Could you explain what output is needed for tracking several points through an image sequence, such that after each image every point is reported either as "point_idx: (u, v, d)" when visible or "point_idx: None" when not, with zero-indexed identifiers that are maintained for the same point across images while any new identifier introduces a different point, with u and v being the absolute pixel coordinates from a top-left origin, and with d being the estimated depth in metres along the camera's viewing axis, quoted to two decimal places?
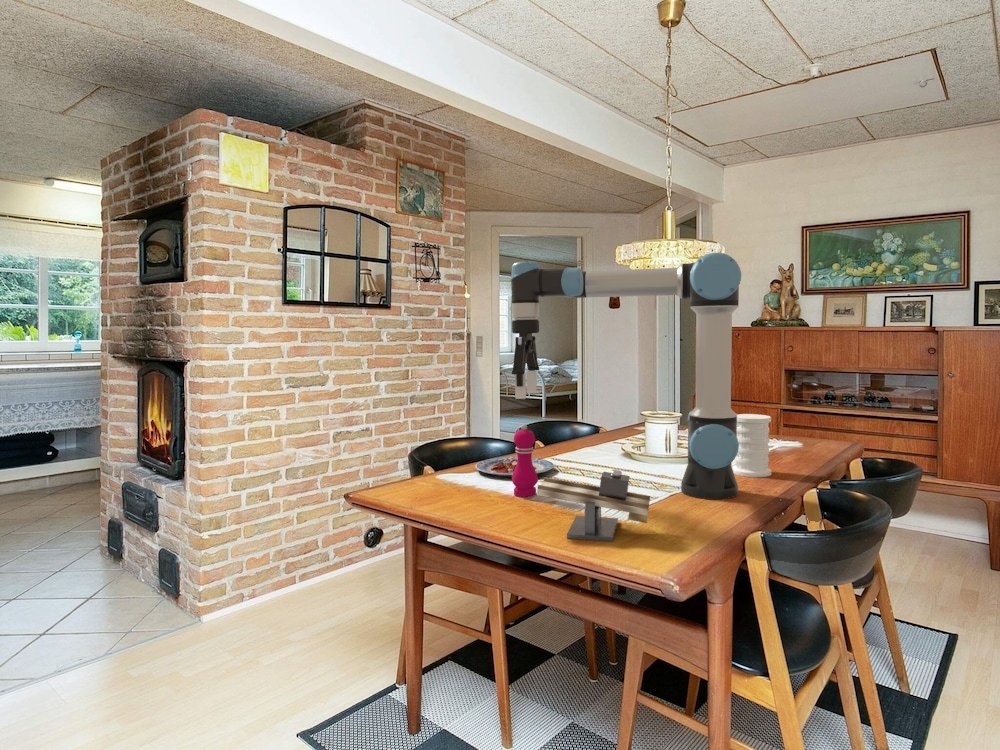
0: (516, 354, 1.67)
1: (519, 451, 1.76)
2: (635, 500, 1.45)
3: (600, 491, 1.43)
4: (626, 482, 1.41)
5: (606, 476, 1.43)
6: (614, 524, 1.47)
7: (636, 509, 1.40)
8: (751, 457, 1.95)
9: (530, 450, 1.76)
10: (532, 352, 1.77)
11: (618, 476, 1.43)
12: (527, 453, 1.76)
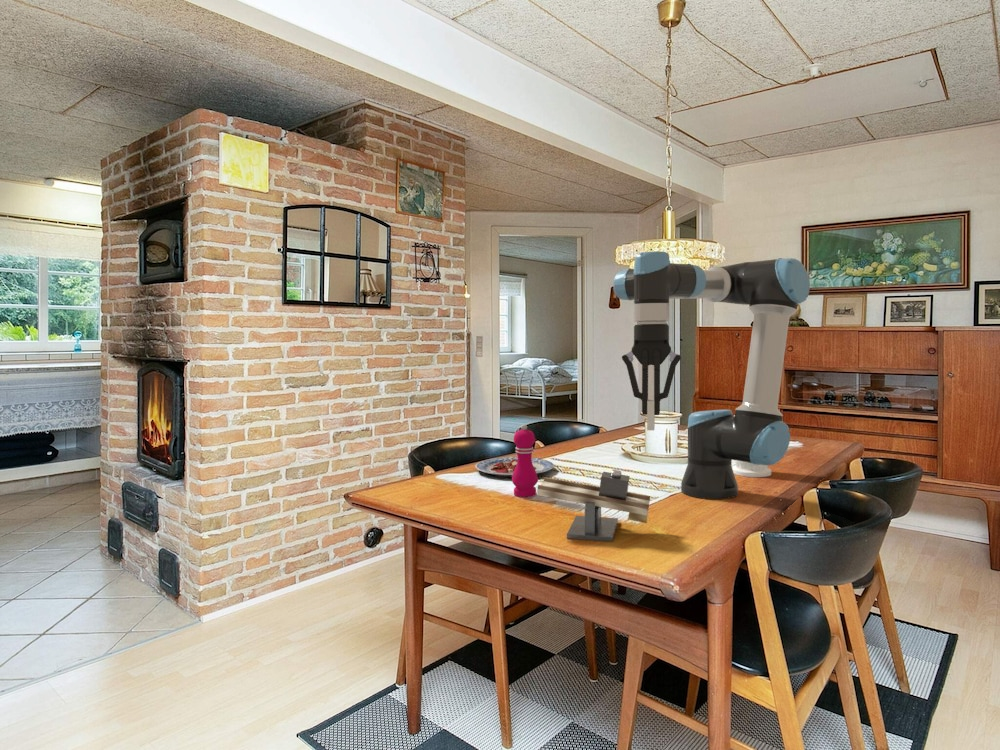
0: None
1: (519, 451, 1.76)
2: (635, 500, 1.45)
3: (600, 491, 1.43)
4: (626, 482, 1.41)
5: (606, 476, 1.43)
6: (614, 524, 1.47)
7: (636, 509, 1.40)
8: None
9: (530, 450, 1.76)
10: (654, 367, 1.39)
11: (618, 476, 1.43)
12: (527, 453, 1.76)
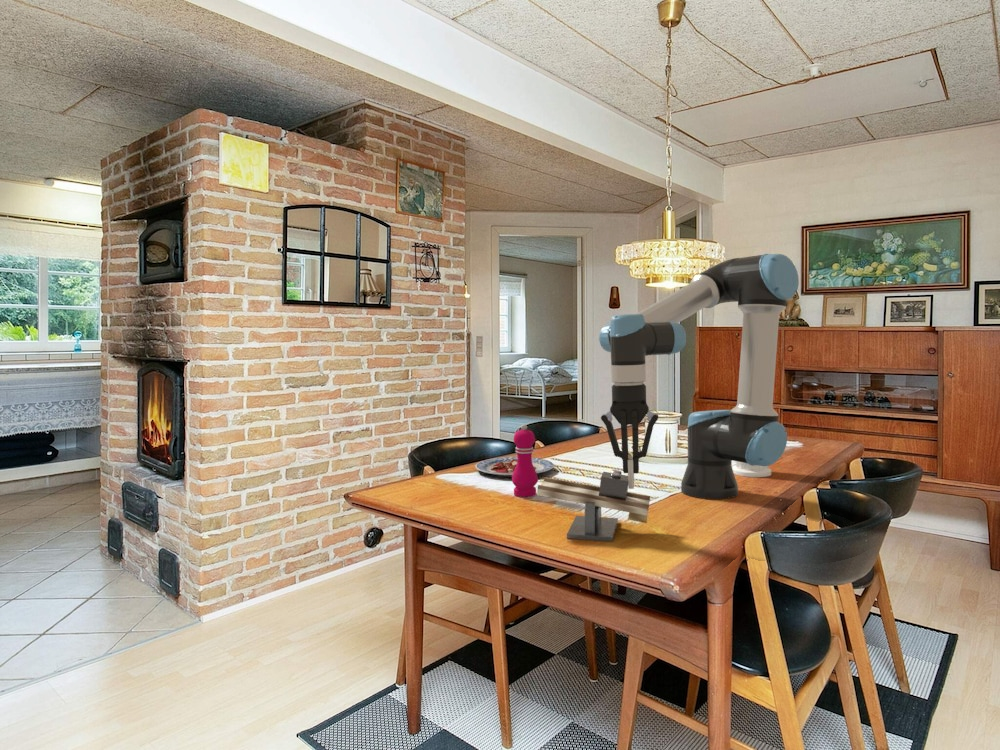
0: None
1: (519, 451, 1.76)
2: (635, 500, 1.45)
3: (600, 491, 1.43)
4: (626, 482, 1.41)
5: (606, 476, 1.43)
6: (614, 524, 1.47)
7: (636, 509, 1.40)
8: None
9: (530, 450, 1.76)
10: (632, 427, 1.41)
11: (618, 476, 1.43)
12: (527, 453, 1.76)
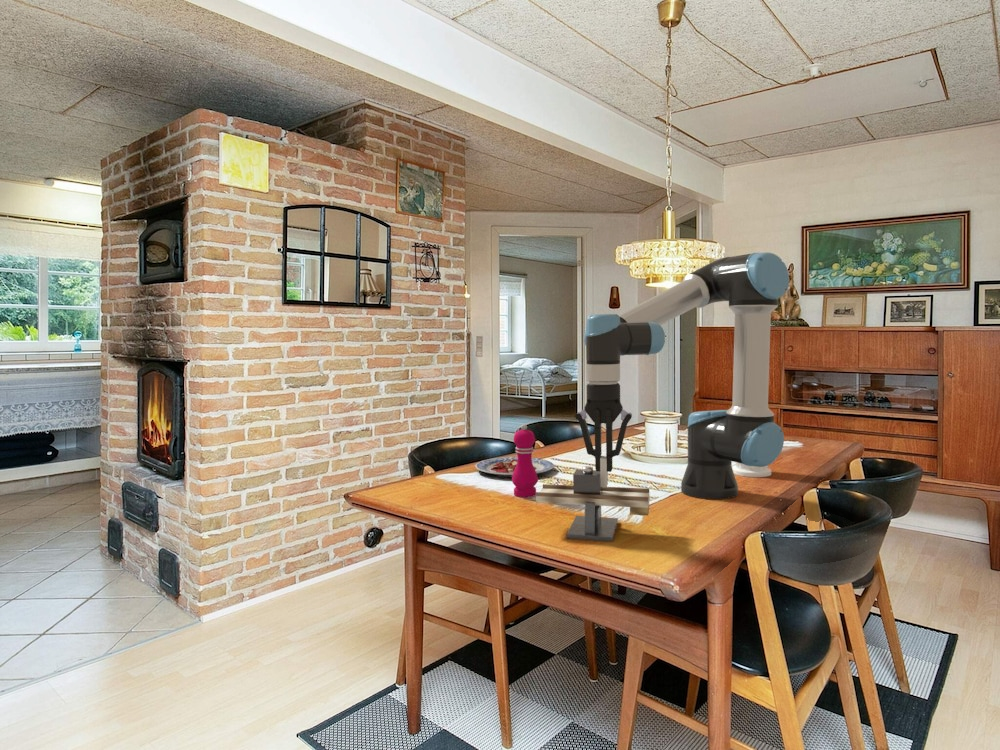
0: None
1: (519, 451, 1.76)
2: (634, 494, 1.44)
3: (574, 489, 1.44)
4: (598, 477, 1.43)
5: (578, 473, 1.45)
6: (614, 524, 1.47)
7: (636, 502, 1.40)
8: None
9: (530, 450, 1.76)
10: (606, 426, 1.43)
11: (590, 472, 1.45)
12: (527, 453, 1.76)
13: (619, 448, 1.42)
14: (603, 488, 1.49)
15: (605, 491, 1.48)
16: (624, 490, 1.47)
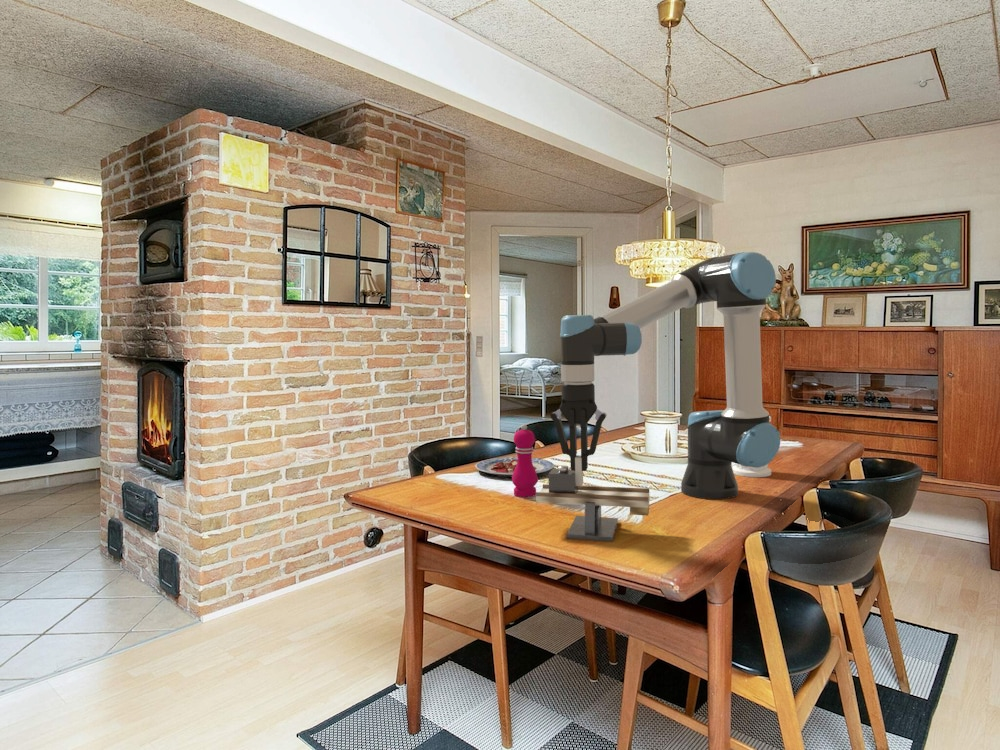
0: None
1: (519, 451, 1.76)
2: (634, 494, 1.44)
3: (549, 488, 1.46)
4: (573, 476, 1.44)
5: (553, 473, 1.46)
6: (614, 524, 1.47)
7: (636, 502, 1.40)
8: None
9: (530, 450, 1.76)
10: None
11: (565, 471, 1.46)
12: (527, 453, 1.76)
13: (593, 447, 1.44)
14: (603, 488, 1.49)
15: (605, 491, 1.48)
16: (624, 490, 1.47)
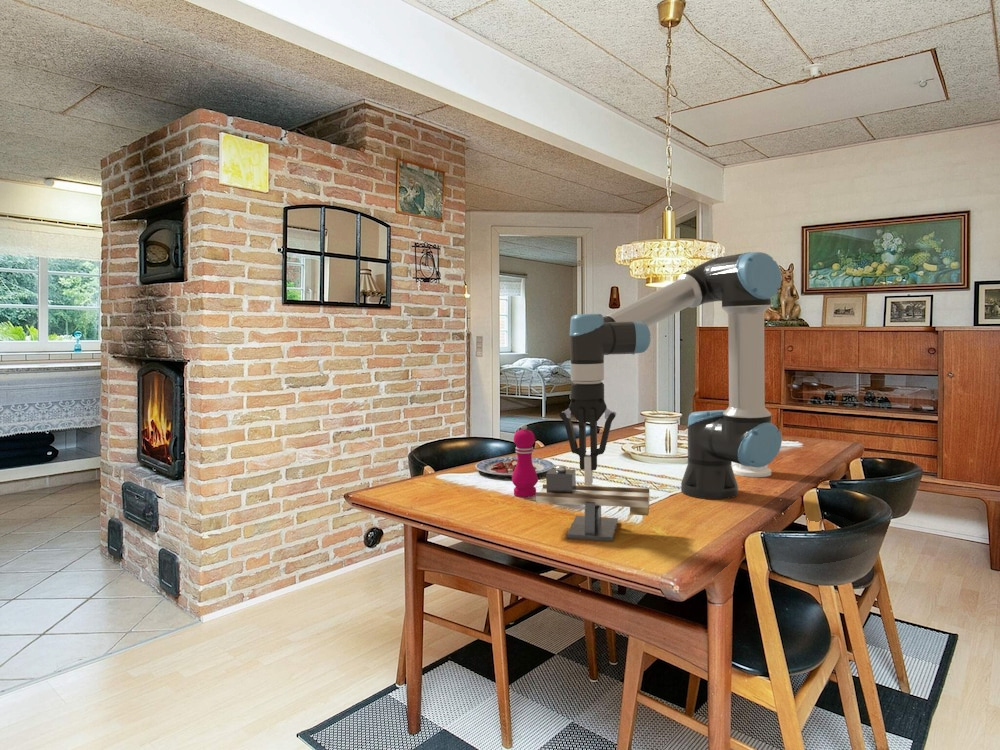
0: None
1: (519, 451, 1.76)
2: (634, 494, 1.44)
3: (547, 488, 1.46)
4: (570, 475, 1.44)
5: (551, 472, 1.46)
6: (614, 524, 1.47)
7: (636, 502, 1.40)
8: None
9: (530, 450, 1.76)
10: (590, 425, 1.44)
11: (563, 471, 1.46)
12: (527, 453, 1.76)
13: (603, 447, 1.43)
14: (603, 488, 1.49)
15: (605, 491, 1.48)
16: (624, 490, 1.47)
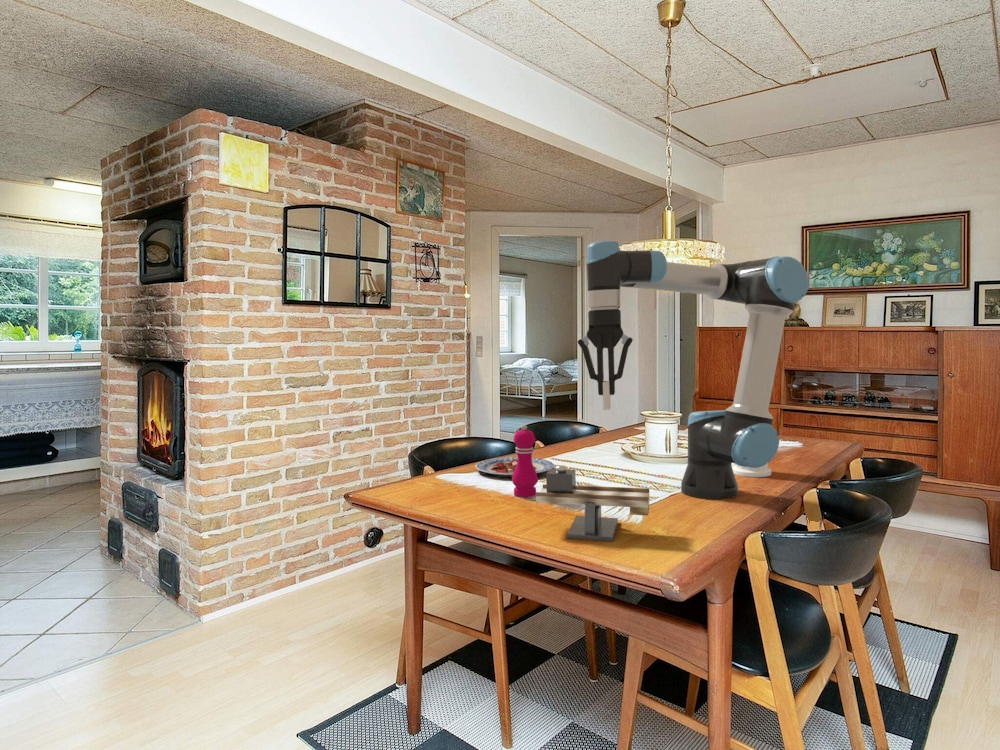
0: None
1: (519, 451, 1.76)
2: (634, 494, 1.44)
3: (547, 488, 1.46)
4: (570, 475, 1.44)
5: (551, 472, 1.46)
6: (614, 524, 1.47)
7: (636, 502, 1.40)
8: None
9: (530, 450, 1.76)
10: None
11: (563, 471, 1.46)
12: (527, 453, 1.76)
13: (621, 371, 1.48)
14: (603, 488, 1.49)
15: (605, 491, 1.48)
16: (624, 490, 1.47)
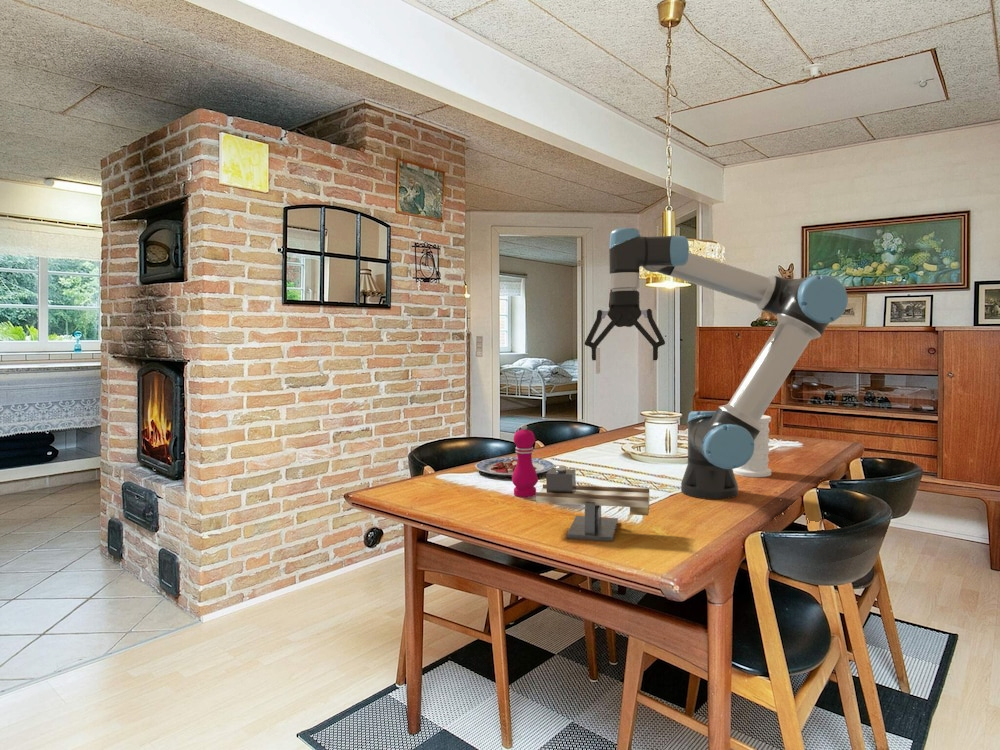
0: None
1: (519, 451, 1.76)
2: (634, 494, 1.44)
3: (547, 488, 1.46)
4: (570, 475, 1.44)
5: (551, 472, 1.46)
6: (614, 524, 1.47)
7: (636, 502, 1.40)
8: (751, 457, 1.95)
9: (530, 450, 1.76)
10: (635, 326, 1.61)
11: (563, 471, 1.46)
12: (527, 453, 1.76)
13: (661, 338, 1.59)
14: (603, 488, 1.49)
15: (605, 491, 1.48)
16: (624, 490, 1.47)
